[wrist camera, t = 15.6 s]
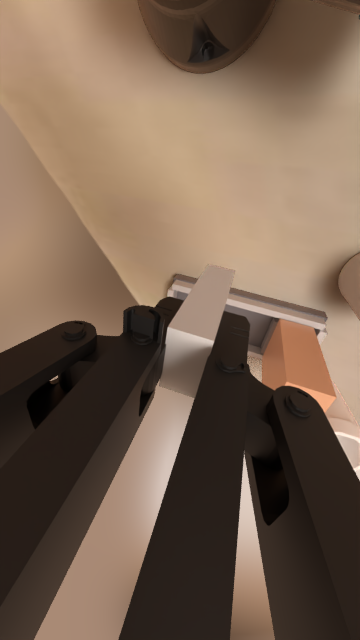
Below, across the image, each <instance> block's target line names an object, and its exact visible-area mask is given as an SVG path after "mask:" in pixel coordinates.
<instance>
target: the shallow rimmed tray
mask: <svg viewBox="0 0 360 640" xmlns="http://www.w3.org/2000/svg"><path fill="white" fill-rule="evenodd" d="M197 280H198V279H196V278H192V277H188V276H184V275H180V274H177V275H176V276H175V277H174V280H173V284H172V286H171V287H170V288H169V289H168V294H167V297H169V296H170V297H173V298H177V299H180V300H184V301H185V299H186V298H187V296H188V294H189V293H190V291H191V290H192V288H193V287H194V285H195V283H196V282H197ZM224 311H227V312H230V313H234V314H237V315H241V316H245V317H246V318H247V319H248V321H249V323H250V332H249V344H248V355H247V356H251V357H254V358H257V359H260V360H262V357H263V353H261V345H262V342H263V340H264V338H265V335H266V333H267V331H268V329H269V326H270V324H271V322H272V319H273V317H275V318H279V319H284V320H287V321H291V322H295V323H298V324H302V325H306V326H309V327H313V328H314V330H315V333H316V336H317V339H318V342H319V345H321V343H322V341H323V340H324V338H325V336H326V335H327V331H326V329H325V327H326V323H325V322H326V320H327V316H326V314H325V312H322V311H318V310H315V309H311V308H307V307H303V306H299V305H295V304H292V303H288V302H284V301H280V300H276V299H272V298H269V297H265V296H261V295H257V294H253V293H249V292H245V291H242V290H238V289H234V288H230V291H229V295H228V298H227V301H226V305H225V308H224Z"/></svg>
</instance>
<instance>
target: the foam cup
mask: <svg viewBox="0 0 360 640" xmlns="http://www.w3.org/2000/svg"><path fill="white" fill-rule="evenodd" d="M331 381H332V380H331ZM332 384H333V388H334V391H335V394H336V397H337V398H336V399H335V400H334V402H333V403H332V404H331V406H330V407H329V408H328V409H327V411H326V412H325V415H326V417H327V419H328V421H329V423H330V425H331V426H332V428H333V430H334V432H335V434H336V436H337V438H338V440H339V442H340V444H341V446H342V448H343V450H344V452H345V454H346V456H347V458H348V460H349V461H350V463H351V465H352V467H353V469H354V471H357V470H359V469H360V427H359V425H358V423H357V421H356V420H355V418H354V416H353V414H352V413H351V411H350V409H349V407H348V406H347V404H346V402H345V400H344V398H343V397H342V395H341V393H340V391H339V390H338V388H337V386H336V385H335V383H334V382H333V381H332Z"/></svg>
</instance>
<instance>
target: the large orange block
mask: <svg viewBox="0 0 360 640" xmlns="http://www.w3.org/2000/svg"><path fill="white" fill-rule="evenodd" d="M261 353H263V357H262V383H263V384H264V385H266V386H268V387H269V388H271V389H273V390H276V388H278V387H280V386H293V387H296V388H300V389H301V390H303V391H305V392H307V393H308V394H310V395H311V396H312V397H313V398H314V399H315V400H317V402H318V403H319V405H320V406H321V407H322V409H323V411H324V413H325V412H326V411H327V409H328V408H329V407H330V406H331V404H332V403H333V402H334V400H335V399H336V398H337V397H336V394H335V391H334V388H333V384H332V381H331V378H330V375H329V372H328V369H327V366H326V363H325V360H324V357H323V354H322V351H321V348H320V345H319V342H318V339H317V336H316V333H315V330H314V328H313V327H309V326H306V325H302V324H298V323H295V322H291V321H287V320H284V319H279V318H275V317H273V319H272V322H271V324H270V326H269V329H268V331H267V333H266V335H265V338H264V340H263V342H262V345H261Z"/></svg>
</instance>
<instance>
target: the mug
mask: <svg viewBox="0 0 360 640" xmlns="http://www.w3.org/2000/svg"><path fill="white" fill-rule="evenodd" d="M338 286H339V290H340V292H341V294H342V295H343V297H344V298H345V299H346V301H347V302H348V303H349V305H350V307H351V308H352V310H353V311H354V313H355V314H356V316H357V317H358V319H359V320H360V253H359V254H357V255H355V256H354V257H353V258H351V259H350V260H349V261H348V262H347V263H346V264H345V266H344V267H343V268H342V270H341V272H340V275H339V280H338Z"/></svg>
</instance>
